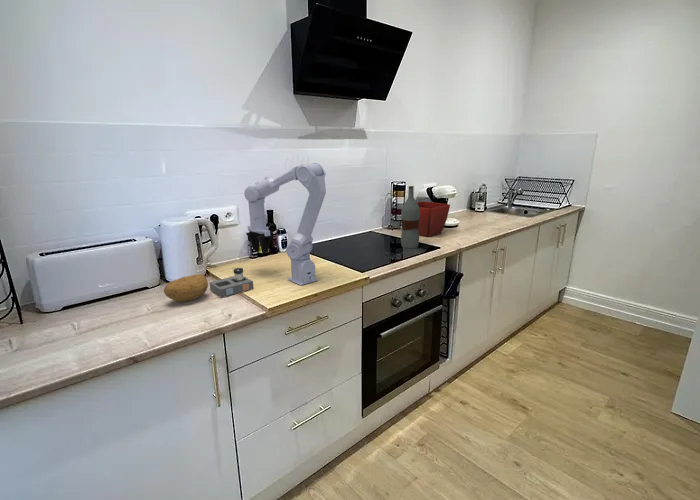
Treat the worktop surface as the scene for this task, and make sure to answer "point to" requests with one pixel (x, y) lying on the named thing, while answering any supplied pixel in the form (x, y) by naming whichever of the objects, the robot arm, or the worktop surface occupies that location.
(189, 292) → the potato
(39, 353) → the worktop surface
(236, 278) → the jar
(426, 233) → the plant pot
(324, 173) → the robot arm
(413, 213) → the bottle
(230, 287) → the socket strip
